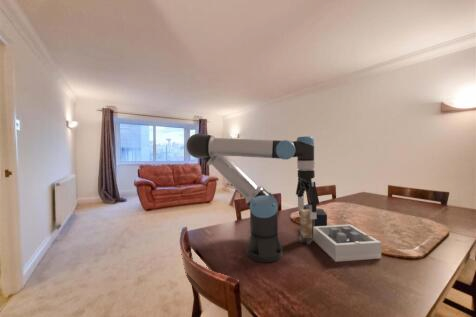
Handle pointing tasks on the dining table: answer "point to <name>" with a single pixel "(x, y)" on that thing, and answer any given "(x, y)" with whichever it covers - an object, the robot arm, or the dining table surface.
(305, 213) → the long wooden block
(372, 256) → the white open square box
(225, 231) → the dining table surface
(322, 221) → the small box
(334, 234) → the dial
